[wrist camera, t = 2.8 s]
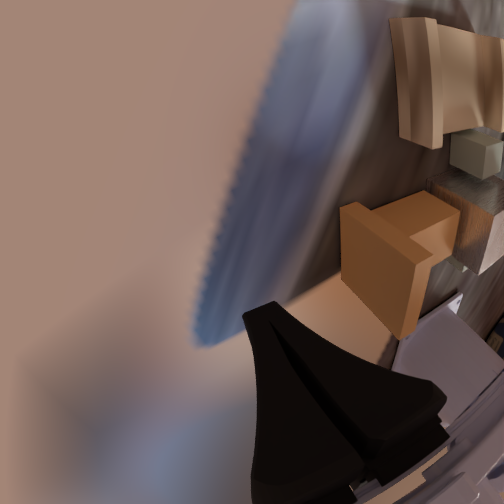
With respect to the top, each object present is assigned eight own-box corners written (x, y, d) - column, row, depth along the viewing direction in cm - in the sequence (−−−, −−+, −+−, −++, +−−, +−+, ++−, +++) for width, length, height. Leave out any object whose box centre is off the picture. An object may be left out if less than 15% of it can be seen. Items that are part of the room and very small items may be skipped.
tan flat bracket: (479, 121, 15) (506, 131, 13) (399, 137, 13) (432, 149, 12) (476, 35, 11) (505, 39, 10) (388, 18, 10) (424, 17, 8)
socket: (456, 241, 20) (480, 259, 18) (436, 253, 19) (462, 272, 17) (471, 129, 15) (503, 141, 13) (451, 133, 14) (486, 146, 12)
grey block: (462, 211, 19) (514, 245, 15) (420, 233, 18) (477, 275, 14) (469, 163, 16) (528, 193, 12) (425, 178, 15) (494, 216, 12)
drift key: (417, 242, 18) (475, 286, 14) (341, 279, 16) (399, 340, 12) (424, 177, 15) (495, 216, 11) (339, 207, 14) (415, 264, 10)
